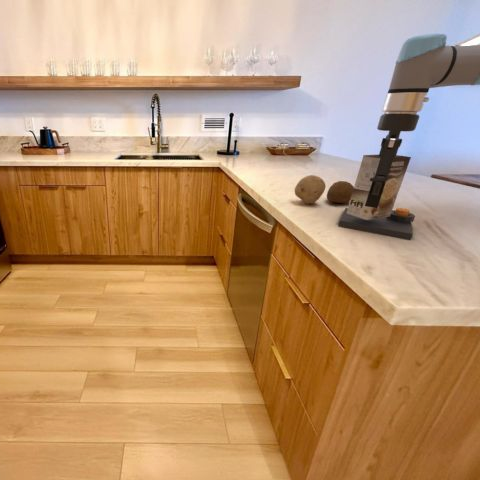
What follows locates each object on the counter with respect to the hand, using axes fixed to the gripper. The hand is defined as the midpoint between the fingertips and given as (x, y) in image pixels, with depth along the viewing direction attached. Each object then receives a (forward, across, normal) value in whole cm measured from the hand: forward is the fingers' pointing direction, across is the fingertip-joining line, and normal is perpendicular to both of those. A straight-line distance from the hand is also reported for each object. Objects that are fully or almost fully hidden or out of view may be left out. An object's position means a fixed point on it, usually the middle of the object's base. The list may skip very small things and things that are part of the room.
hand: (372, 201), depth 78 cm
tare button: (+4, +7, -7) cm, 11 cm away
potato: (+7, +21, +9) cm, 24 cm away
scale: (+7, +2, -2) cm, 8 cm away
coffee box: (+4, 0, 0) cm, 4 cm away
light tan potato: (+7, +13, +18) cm, 23 cm away
